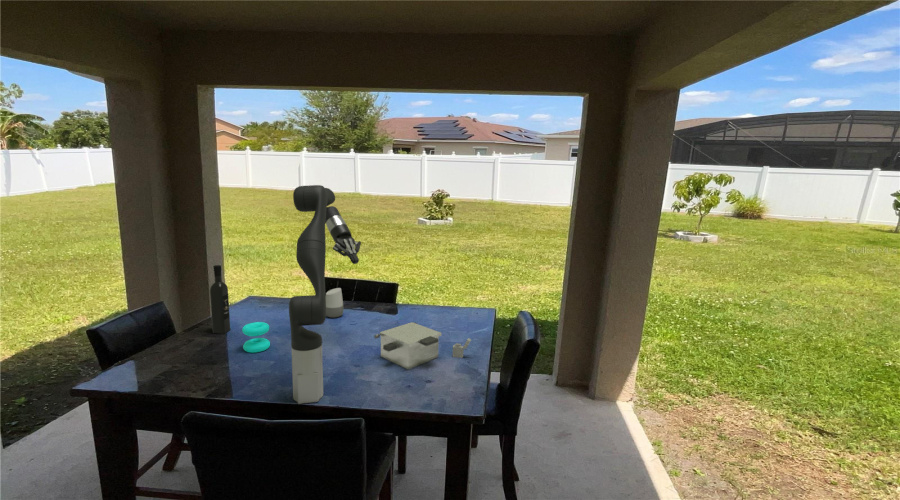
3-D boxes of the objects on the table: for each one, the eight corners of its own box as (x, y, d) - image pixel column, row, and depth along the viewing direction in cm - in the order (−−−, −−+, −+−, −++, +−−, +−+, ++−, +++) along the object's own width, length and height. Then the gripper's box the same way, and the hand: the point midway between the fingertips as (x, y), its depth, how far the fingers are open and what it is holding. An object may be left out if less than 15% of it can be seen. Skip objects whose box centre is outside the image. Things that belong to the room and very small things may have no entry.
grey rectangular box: (371, 359, 169) (371, 335, 168) (416, 342, 187) (416, 321, 185) (399, 372, 158) (400, 347, 157) (445, 354, 176) (445, 331, 174)
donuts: (268, 328, 172) (240, 330, 168) (270, 352, 174) (242, 355, 170) (269, 320, 181) (243, 322, 178) (270, 342, 183) (244, 345, 179)
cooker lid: (379, 335, 170) (379, 332, 170) (411, 324, 182) (412, 322, 182) (415, 350, 156) (415, 347, 156) (447, 338, 169) (448, 335, 169)
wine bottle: (231, 329, 196) (227, 264, 191) (223, 334, 191) (219, 267, 186) (219, 329, 197) (215, 264, 192) (211, 333, 191) (206, 266, 186)
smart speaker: (324, 313, 222) (323, 287, 220) (342, 312, 225) (342, 286, 222) (324, 319, 213) (324, 292, 211) (344, 318, 216) (343, 291, 213)
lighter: (452, 356, 174) (452, 337, 172) (453, 355, 175) (453, 336, 174) (469, 358, 172) (470, 339, 171) (470, 357, 174) (471, 338, 172)
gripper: (327, 224, 173) (346, 259, 167) (355, 222, 182) (373, 255, 176) (320, 236, 177) (338, 270, 171) (348, 233, 187) (365, 266, 181)
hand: (356, 262), depth 174 cm, fingers closed
